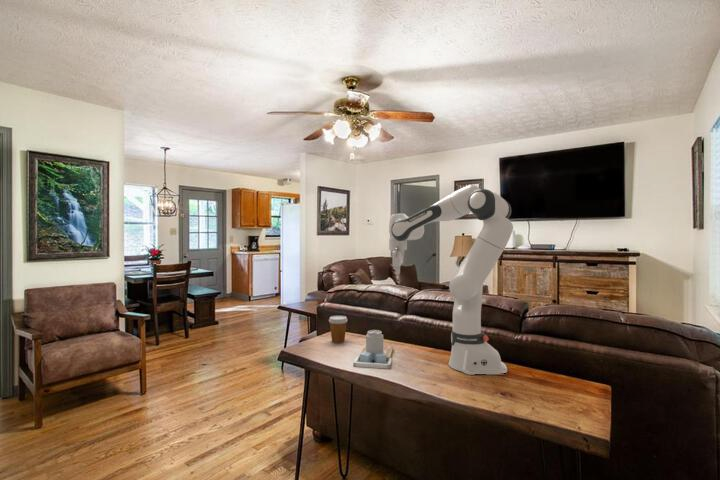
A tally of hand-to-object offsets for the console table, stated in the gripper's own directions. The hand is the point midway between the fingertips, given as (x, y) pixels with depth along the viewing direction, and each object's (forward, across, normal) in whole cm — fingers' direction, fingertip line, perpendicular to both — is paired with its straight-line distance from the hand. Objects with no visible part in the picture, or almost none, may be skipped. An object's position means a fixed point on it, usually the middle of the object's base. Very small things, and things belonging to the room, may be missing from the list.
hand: (397, 274), depth 178 cm
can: (+34, -25, +8) cm, 43 cm away
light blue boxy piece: (+34, -30, +5) cm, 46 cm away
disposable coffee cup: (+34, -3, +30) cm, 46 cm away
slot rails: (+34, -19, +8) cm, 40 cm away
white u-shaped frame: (+34, -31, +8) cm, 47 cm away
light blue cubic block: (+34, -30, +11) cm, 47 cm away
